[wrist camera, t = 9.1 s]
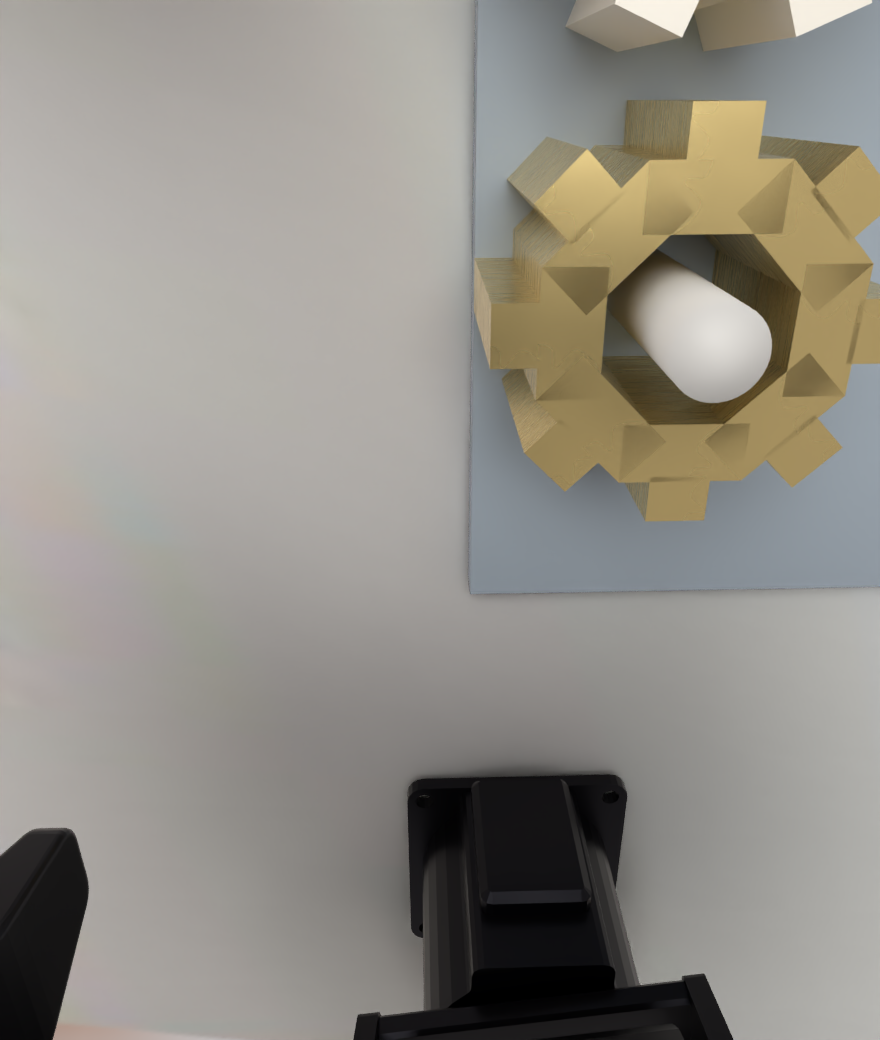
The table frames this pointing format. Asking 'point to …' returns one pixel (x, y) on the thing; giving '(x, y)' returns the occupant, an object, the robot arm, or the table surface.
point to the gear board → (597, 504)
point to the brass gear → (737, 270)
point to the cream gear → (702, 20)
